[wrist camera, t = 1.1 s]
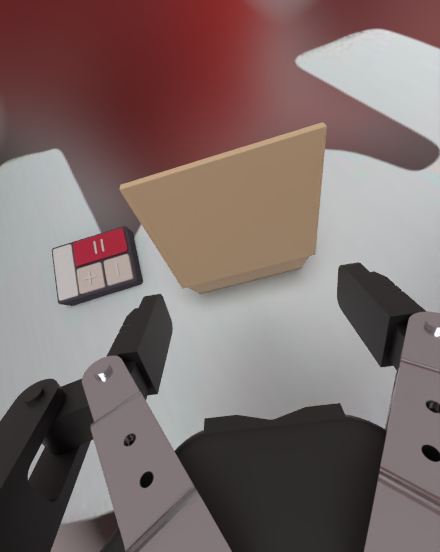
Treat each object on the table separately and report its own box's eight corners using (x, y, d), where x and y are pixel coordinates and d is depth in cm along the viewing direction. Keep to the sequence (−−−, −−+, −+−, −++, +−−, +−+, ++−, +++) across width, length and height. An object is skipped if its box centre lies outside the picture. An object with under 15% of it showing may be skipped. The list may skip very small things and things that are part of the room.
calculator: (135, 279, 44) (54, 304, 44) (145, 284, 48) (71, 306, 49) (124, 223, 46) (47, 247, 47) (134, 232, 51) (64, 254, 51)
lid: (312, 249, 33) (315, 254, 33) (182, 283, 35) (182, 288, 34) (322, 122, 21) (326, 126, 20) (120, 184, 23) (119, 190, 22)
